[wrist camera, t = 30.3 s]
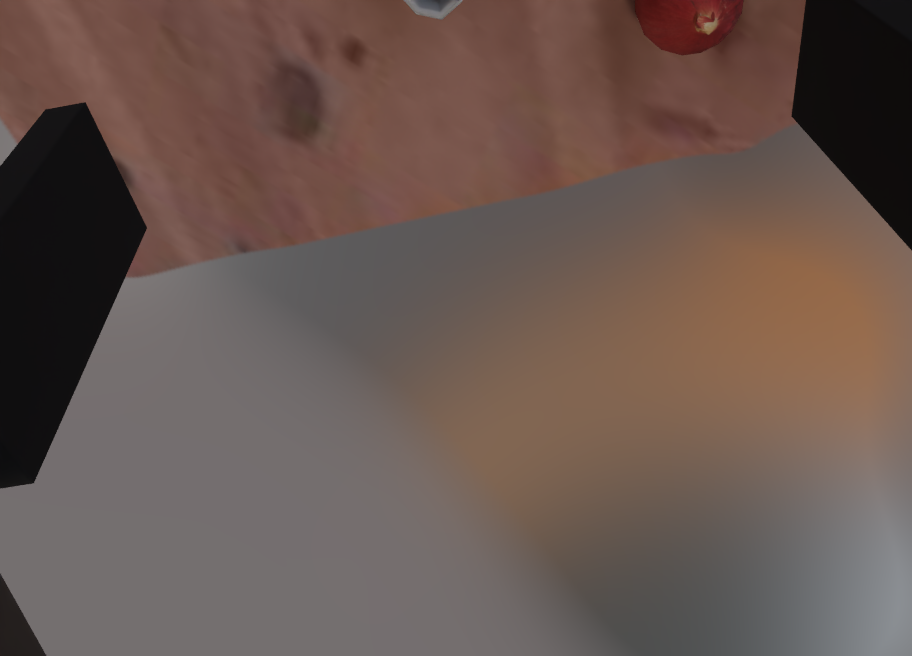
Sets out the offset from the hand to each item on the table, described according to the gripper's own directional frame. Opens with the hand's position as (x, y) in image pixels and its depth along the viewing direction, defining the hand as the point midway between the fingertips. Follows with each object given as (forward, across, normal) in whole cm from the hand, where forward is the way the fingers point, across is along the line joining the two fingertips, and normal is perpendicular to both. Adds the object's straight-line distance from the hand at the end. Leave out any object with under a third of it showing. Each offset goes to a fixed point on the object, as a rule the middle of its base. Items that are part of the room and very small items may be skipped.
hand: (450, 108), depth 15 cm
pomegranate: (+35, +14, -10) cm, 39 cm away
